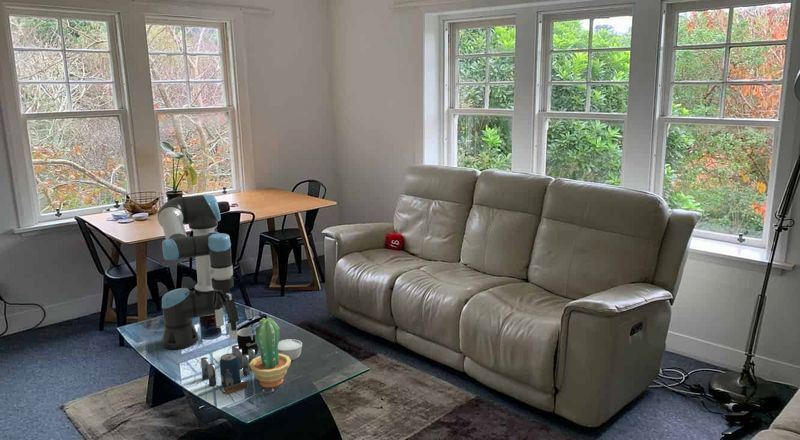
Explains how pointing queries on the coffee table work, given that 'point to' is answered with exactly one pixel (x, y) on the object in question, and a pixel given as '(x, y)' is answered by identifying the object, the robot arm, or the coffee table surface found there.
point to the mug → (246, 341)
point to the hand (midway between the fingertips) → (226, 331)
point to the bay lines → (219, 389)
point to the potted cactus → (268, 354)
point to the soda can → (229, 370)
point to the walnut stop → (235, 388)
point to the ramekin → (290, 348)
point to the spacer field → (244, 362)
